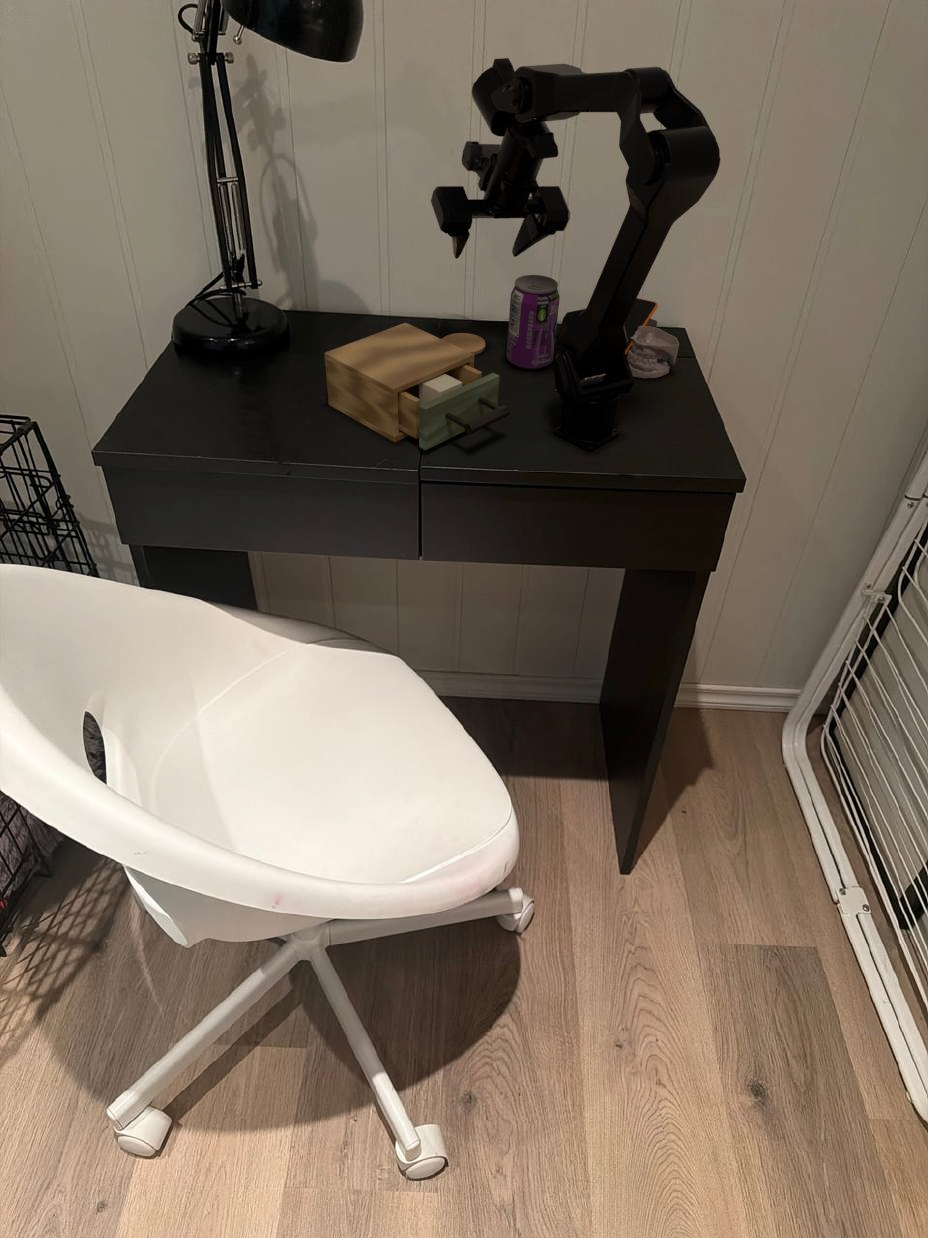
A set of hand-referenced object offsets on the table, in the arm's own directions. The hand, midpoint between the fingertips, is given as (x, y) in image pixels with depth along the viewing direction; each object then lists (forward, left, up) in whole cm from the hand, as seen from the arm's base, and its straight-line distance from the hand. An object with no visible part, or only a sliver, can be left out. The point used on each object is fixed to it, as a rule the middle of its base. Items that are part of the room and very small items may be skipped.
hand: (485, 254), depth 122 cm
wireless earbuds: (-15, -20, -14) cm, 29 cm away
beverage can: (-8, -2, -14) cm, 17 cm away
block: (-13, +22, -12) cm, 28 cm away
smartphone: (-14, -21, -11) cm, 27 cm away
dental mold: (-22, -13, -9) cm, 27 cm away
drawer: (-14, +22, -13) cm, 29 cm away
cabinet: (-5, +22, -14) cm, 26 cm away
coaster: (+2, +2, -14) cm, 14 cm away
